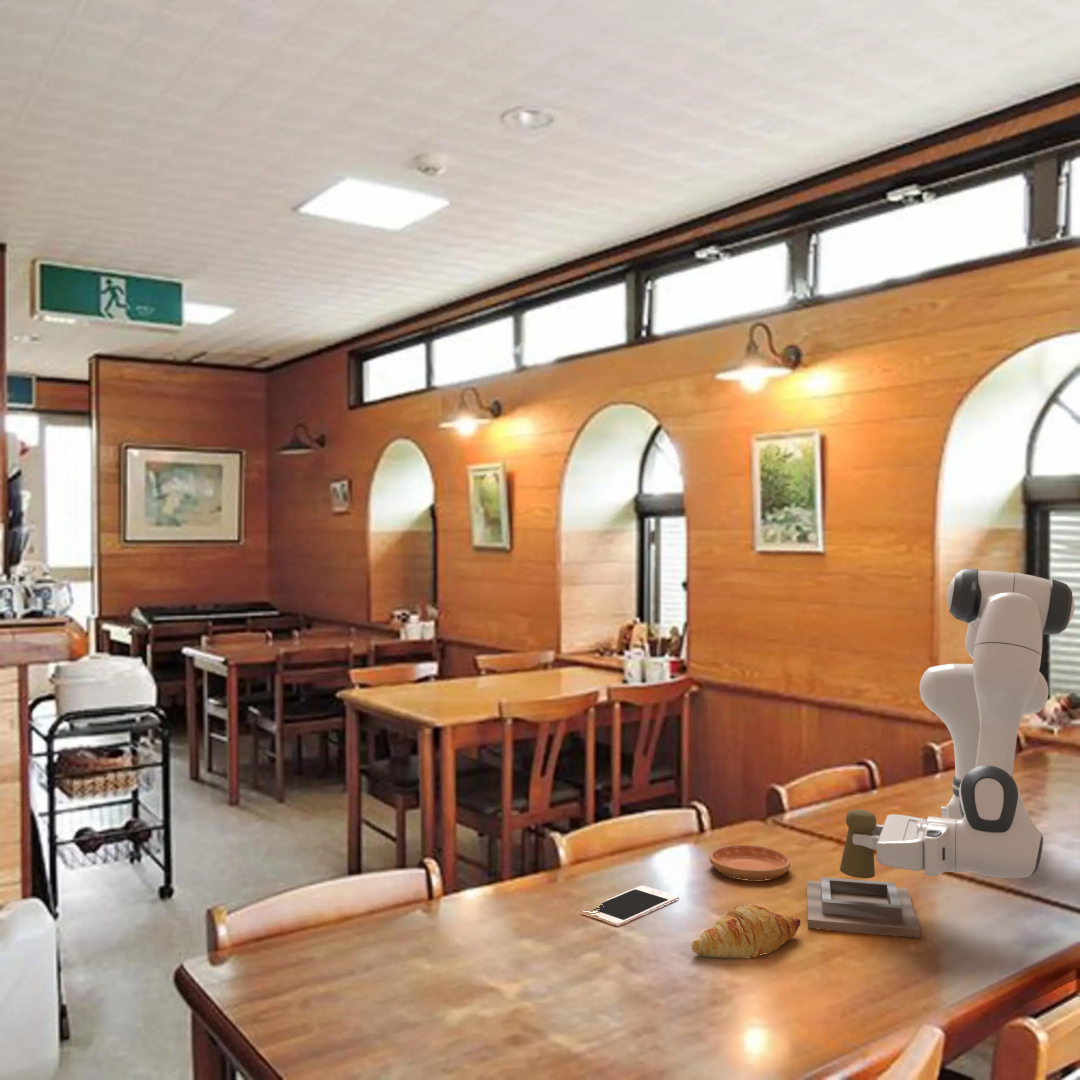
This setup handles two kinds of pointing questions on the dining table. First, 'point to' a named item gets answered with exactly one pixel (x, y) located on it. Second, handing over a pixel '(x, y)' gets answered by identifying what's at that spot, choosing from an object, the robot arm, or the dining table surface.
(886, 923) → the square frame holder
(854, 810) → the olive pepper mill
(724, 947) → the croissant
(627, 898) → the cell phone
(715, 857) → the saucer
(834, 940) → the dining table surface
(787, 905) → the dining table surface
